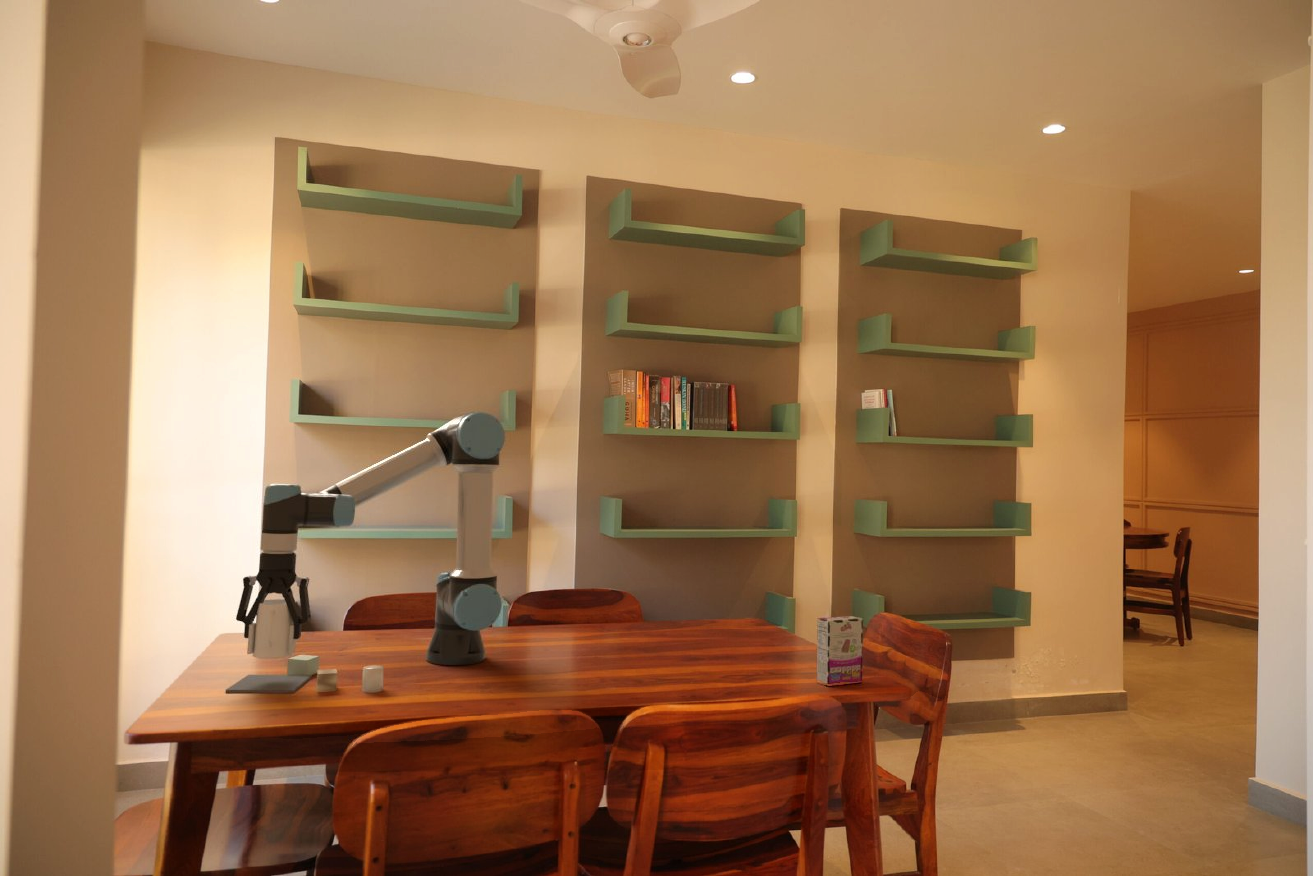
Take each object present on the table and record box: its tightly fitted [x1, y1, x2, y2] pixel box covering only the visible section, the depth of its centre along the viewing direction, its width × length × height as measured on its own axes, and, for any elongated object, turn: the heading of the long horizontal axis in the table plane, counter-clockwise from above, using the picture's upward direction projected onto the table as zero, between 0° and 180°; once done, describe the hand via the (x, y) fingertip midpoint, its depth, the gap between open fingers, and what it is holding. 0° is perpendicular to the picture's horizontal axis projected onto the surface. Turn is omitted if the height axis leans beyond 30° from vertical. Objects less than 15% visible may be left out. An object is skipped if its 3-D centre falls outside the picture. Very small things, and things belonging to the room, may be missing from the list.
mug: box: [252, 598, 297, 660], centre depth 188 cm, size 12×8×12 cm
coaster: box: [225, 674, 312, 694], centre depth 187 cm, size 14×14×1 cm
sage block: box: [286, 654, 320, 676], centre depth 199 cm, size 5×5×4 cm
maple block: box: [316, 668, 338, 693], centre depth 186 cm, size 4×4×4 cm
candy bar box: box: [816, 615, 864, 684], centre depth 210 cm, size 11×5×16 cm, turn 117°
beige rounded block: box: [361, 664, 385, 694], centre depth 186 cm, size 4×4×5 cm
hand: (271, 653), depth 188 cm, fingers closed on mug, 8 cm apart
